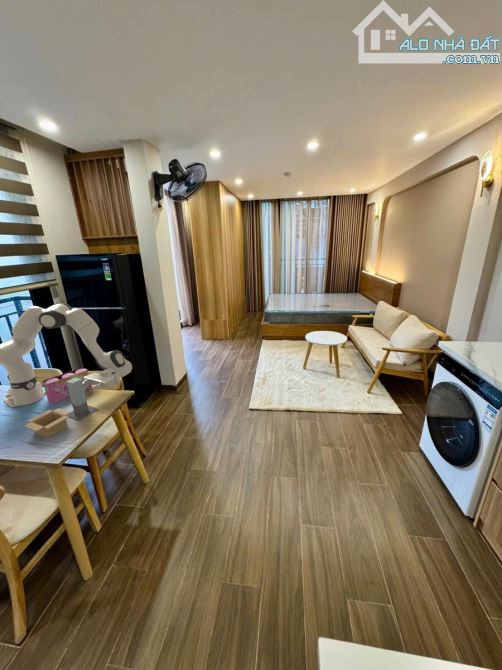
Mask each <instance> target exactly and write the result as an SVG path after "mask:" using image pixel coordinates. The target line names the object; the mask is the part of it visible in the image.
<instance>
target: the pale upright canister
mask: <svg viewBox="0 0 502 670" xmlns="http://www.w3.org/2000/svg"><path fill="white" fill-rule="evenodd" d="M66 382H67V386H68V390H69V394H70V397H69V398H70V402H71V405H72V408H73V409H72V411H73V410H74V413H75V414H77V415H82V414H84V413H86V412H87V411H89V409H88V401H87V396H86V391H84V387H83V383H82V379H79V378H73V379H71V380H69V381H66Z"/></svg>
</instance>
